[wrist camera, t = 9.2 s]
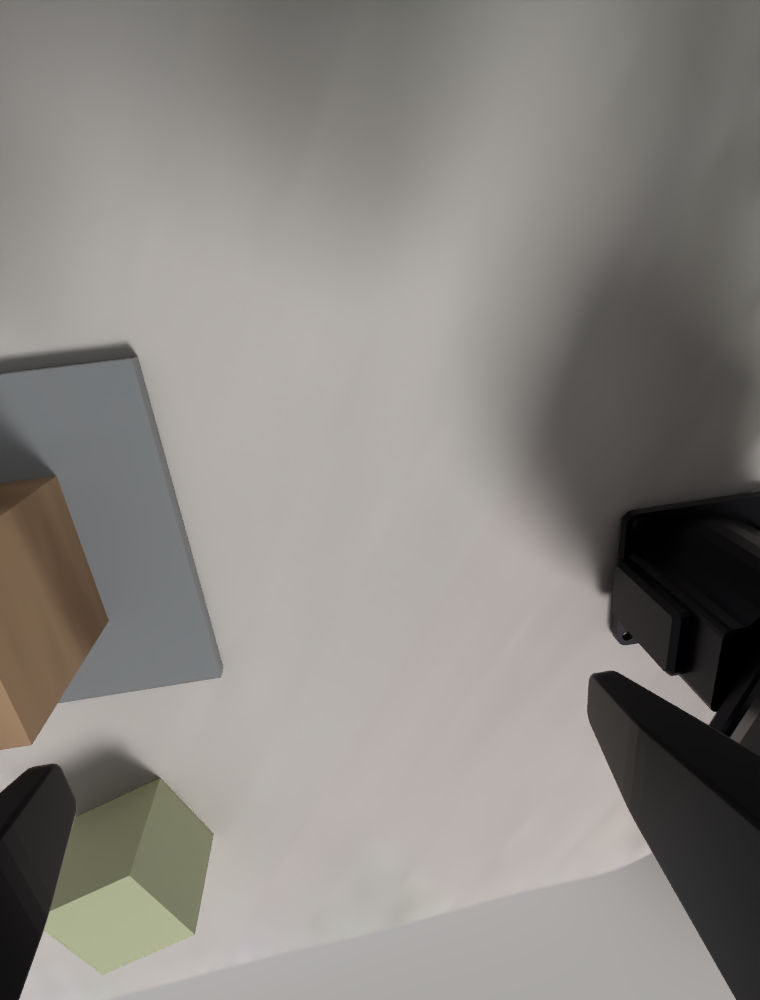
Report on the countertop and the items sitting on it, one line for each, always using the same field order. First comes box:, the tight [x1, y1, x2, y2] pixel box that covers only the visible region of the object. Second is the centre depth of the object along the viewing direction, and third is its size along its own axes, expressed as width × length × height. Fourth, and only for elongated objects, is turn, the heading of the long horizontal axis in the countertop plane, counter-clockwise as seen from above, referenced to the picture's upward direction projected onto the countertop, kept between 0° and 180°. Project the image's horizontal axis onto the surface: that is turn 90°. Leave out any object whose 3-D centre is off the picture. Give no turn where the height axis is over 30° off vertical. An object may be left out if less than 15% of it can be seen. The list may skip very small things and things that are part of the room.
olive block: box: [44, 778, 214, 975], centre depth 24 cm, size 4×4×4 cm
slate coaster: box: [0, 357, 223, 703], centre depth 19 cm, size 13×13×1 cm
